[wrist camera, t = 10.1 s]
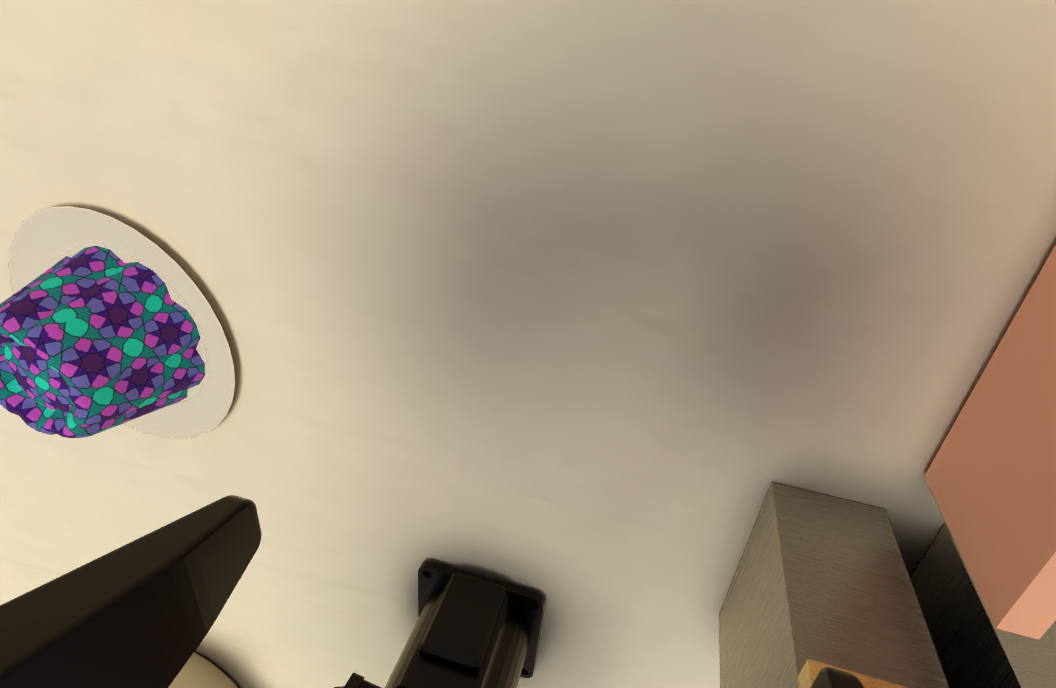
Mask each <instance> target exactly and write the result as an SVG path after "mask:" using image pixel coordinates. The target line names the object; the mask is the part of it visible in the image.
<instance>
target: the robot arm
mask: <svg viewBox="0 0 1056 688" xmlns="http://www.w3.org/2000/svg"><path fill="white" fill-rule="evenodd" d="M260 541H261V529H260V524H259V519H258V514H257V509H256V505H255V503H254V502H253V501H252V500H249V499H246V498H242V497H239V496H234V495H230V496H226V497H224V498H222V499H220V500H217V501H215V502H213V503H211V504H209V505H207V506H205V507H203V508H201V509H199V510H197V511H195V512H193V513H191V514H189V515H186V516H184V517H182V518H180V519H178V520H176V521H174V522H172V523H170V524H168V525H166V526H164V527H162V528H160V529H157V530H155V531H153V532H151V533H149V534H147V535H145V536H143V537H141V538H139V539H137V540H135V541H133V542H131V543H129V544H126V545H124V546H122V547H120V548H118V549H116V550H114V551H112V552H110V553H108V554H106V555H104V556H102V557H100V558H98V559H95V560H93V561H91V562H89V563H87V564H85V565H83V566H81V567H79V568H77V569H75V570H73V571H71V572H69V573H66V574H64V575H62V576H60V577H58V578H56V579H54V580H52V581H50V582H48V583H46V584H44V585H42V586H40V587H38V588H35V589H33V590H31V591H29V592H27V593H25V594H23V595H21V596H19V597H17V598H15V599H13V600H11V601H9V602H7V603H4V604H2V605H0V688H168V687H169V686H170V685H171V683H172V682H173V680H174V679H175V678H176V676H177V675H178V674H179V672H180V671H181V669H182V668H183V667H184V665H185V664H186V663H187V661H188V660H189V658H190V657H191V656H192V654H193V653H194V651H195V650H196V649H197V647H198V646H199V644H200V643H201V642H202V640H203V639H204V637H205V636H206V634H207V633H208V631H209V630H210V628H211V627H212V625H213V623H214V622H215V620H216V619H217V617H218V615H219V613H220V612H221V610H222V608H223V607H224V605H225V603H226V602H227V600H228V598H229V597H230V595H231V593H232V591H233V590H234V588H235V586H236V585H237V583H238V581H239V580H240V578H241V576H242V575H243V573H244V571H245V569H246V568H247V566H248V564H249V563H250V561H251V559H252V558H253V556H254V554H255V553H256V551H257V549H258V547H259V544H260ZM418 599H419V619H418V621H417V623H416V625H415V627H414V629H413V631H412V633H411V635H410V637H409V639H408V641H407V643H406V645H405V648H404V650H403V652H402V654H401V656H400V658H399V660H398V662H397V664H396V666H395V668H394V670H393V672H392V674H391V676H390V678H389V681H388V683H387V685H386V687H385V688H517V685H518V682H519V678H520V676H521V677H524V678H530V677H532V675H533V672H534V669H535V663H536V657H537V651H538V644H539V638H540V632H541V625H542V619H543V613H544V606H545V598H544V597H543V596H542V595H541V594H539V593H537V592H534V591H530V590H527V589H524V588H520V587H517V586H513V585H510V584H507V583H503V582H500V581H496V580H493V579H489V578H486V577H483V576H479V575H476V574H472V573H469V572H465V571H462V570H459V569H455V568H452V567H448V566H445V565H441V564H438V563H435V562H431V561H424V562H423V563H422V564H421V566H420V568H419V571H418ZM364 678H365V677H363V676H360V675H358V674H356V673H353V674H352V675H351V677H350V679H349V680H348V682H347V683H346V685H345V686H344V687H334V688H381V687H379V686H376V685H374V684H372V683H370V682H368V681H366V680H364ZM810 688H864V686H863V685H862V683H861V682H860V680H859V679H858V678H857V677H856V676H854V675H853V674H851V673H848V672H844V671H841V670H838V669H834V668H831V667H824V668H822V669H821V670H820V671H819V673H818V675H817V677H816V678H815V680H814V682H813V683H812V685H811V687H810Z"/></svg>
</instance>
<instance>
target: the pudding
mask: <svg viewBox="0 0 1056 688" xmlns="http://www.w3.org/2000/svg"><path fill="white" fill-rule="evenodd" d="M89 244H97V245H102V246H108V247H111V248H114V249H117V250H120V251H122V252H125V253H127V254H129V255H130V256H132V257H134V258H136V259H138V260H140V261H141V262H142V263H144V264H145V265H147V266H148V267H150V268H151V269H152V270H154V271H155V272H156V273H157V274H158V275H159V276H160V277H162V278H163V279H164V280H165V281H166V282H167V283H168V284H169V285H170V286H171V287H172V289H173V290H174V291H175V292H176V293H177V294H178V295H179V297H180V298H181V299H182V301H183V302H184V303H185V305H186V306H187V308H188V309H189V311H190V312H191V314H192V316H193V318H194V320H195V321H196V323H197V325H198V328H199V330H200V333H201V335H202V337H203V341H204V345H205V349H206V354H207V372H206V378H205V380H204V383H203V386H202V387H201V388H200V390H199V391H198V393H197V394H196V395H194V396H193V397H192V398H190V399H189V400H186V401H184V402H181V403H177V402H179V401H181V400H182V399H184V398H186V397H187V389H188V388H190V387H193V386H195V385H198V384H200V382H201V381H202V379H203V378H204V376H205V363H204V362H203V360H202V358H201V357H200V355H199V354H198V352H197V350H196V347H197V344H198V342H199V340H200V336H199V332H198V329H197V326H196V323H195V322H194V320H193V319H192V317H191V316H190V314H189V313H188V311H187V310H186V309H184V308H183V307H181V306H180V305H178V304H177V303H175V302H174V301H172V300H171V298H170V295H169V293H168V290H167V287H166V285H165V283H164V282H163V281H162V280H161V279H160V278H159V277H158V276H157V275H156V274H155V273H154V272H153V271H152V270H151V269H149V268H147V267H145V266H144V265H142V264H140V263H138V262H136V263H124V262H123V261H122V260H120V259H119V258H118V257H117V256H116V255H115V254H114V253H113V252H112V251H111V250H109V249H105V248H102V247H99V246H93V247H88V248H84V249H83V250H81V251H80V252H79V253H77V254H76V255H75V256H73V257H72V258H71V257H67V256H66V257H65V258H63V259H62V260H61V261H59V262H58V263H56V262H57V261H58V259H59V258H60V257H61V256H62V255H63V253H65V252H66V251H68V250H70V249H71V248H73V247H77V246H80V245H89ZM8 269H9V278H10V285H11V289H12V292H13V295H12V296H11V297H10V298H8V299H7V300H5V301H4V302H3V303H1V304H0V404H1V405H2V406H3V407H4V408H5V409H7V410H8V411H9V412H11V413H14V414H16V415H19V416H20V417H21V418H22V419H23V421H24V422H25V423H26V424H27V425H28V426H30V427H32V428H33V429H35V430H36V431H39V432H42V433H46V434H50V435H52V434H58V435H60V436H62V437H67V438H81V437H88V436H92V435H94V434H97V433H99V432H102V431H105V430H107V429H110V428H112V427H115V426H117V425H120V424H125V425H127V426H129V427H131V428H134V429H136V430H139V431H141V432H144V433H147V434H151V435H155V436H159V437H163V438H174V439H184V438H193V437H197V436H199V435H202V434H205V433H208V432H209V431H211V430H212V429H213V428H215V427H216V426H218V425H219V424H220V422H221V421H222V420H223V419H224V418H225V416H226V415H227V413H228V411H229V408H230V406H231V404H232V401H233V395H234V389H235V375H234V364H233V360H232V356H231V351H230V347H229V344H228V342H227V339H226V337H225V334H224V331H223V329H222V326H221V324H220V323H219V321H218V319H217V317H216V315H215V313H214V312H213V310H212V308H211V306H210V304H209V303H208V301H207V300H206V298H205V297H204V296H203V294H202V293H201V291H200V290H199V289H198V287H197V286H196V284H195V283H194V282H193V281H192V280H191V278H190V277H189V276H188V275H187V274H186V273H185V272H184V271H183V269H182V268H181V267H180V266H179V265H178V264H177V263H176V262H175V261H174V260H173V259H172V258H171V257H170V256H169V255H167V254H166V253H165V252H164V251H163V250H162V249H161V248H160V247H158V246H157V245H156V244H155V243H154V242H152V241H151V240H149V239H148V238H146V237H145V236H144V235H142V234H141V233H139V232H138V231H136V230H135V229H133V228H132V227H130V226H128V225H126V224H124V223H122V222H120V221H118V220H116V219H114V218H113V217H110V216H107V215H104V214H102V213H99V212H96V211H93V210H90V209H84V208H78V207H72V206H62V207H50V208H47V209H44V210H41V211H38V212H35V213H34V214H33V215H31V216H30V217H29V218H27V219H26V220H24V221H23V223H22V224H21V225H20V227H19V228H18V230H17V231H16V232H15V234H14V237H13V240H12V243H11V246H10V250H9V261H8ZM174 403H176V404H174Z"/></svg>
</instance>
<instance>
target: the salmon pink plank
mask: <svg viewBox="0 0 1056 688" xmlns="http://www.w3.org/2000/svg"><path fill="white" fill-rule="evenodd" d="M924 477H925V479H926V481H927V484H928V486H929V488H930V490H931V492H932V494H933V496H934V498H935V501H936V503H937V505H938V507H939V509H940V511H941V513H942V515H943V518H944V520H945V522H946V524H947V526H948V528H949V530H950V532H951V535H952V537H953V539H954V541H955V543H956V545H957V547H958V549H959V552H960V554H961V556H962V558H963V560H964V562H965V564H966V566H967V569H968V571H969V573H970V575H971V577H972V579H973V581H974V583H975V586H976V588H977V590H978V592H979V594H980V596H981V598H982V600H983V603H984V605H985V607H986V609H987V611H988V613H989V615H990V617H991V620H992V622H993V624H994V626H995V628H997V629H1000V630H1004V631H1008V632H1012V633H1015V634H1019V635H1023V636H1027V637H1031V638H1034V639H1038V640H1039V639H1040V638H1041V637H1042V635H1043V634H1044V633H1045V632H1046V631H1047V630H1048V628H1049V627H1050V626H1051V625H1052V624H1053V623H1054V622H1055V620H1056V245H1055V247H1054V248H1053V250H1052V252H1051V254H1050V255H1049V257H1048V259H1047V261H1046V262H1045V264H1044V266H1043V268H1042V269H1041V271H1040V273H1039V275H1038V276H1037V278H1036V280H1035V282H1034V284H1033V285H1032V287H1031V289H1030V291H1029V292H1028V294H1027V296H1026V298H1025V299H1024V301H1023V303H1022V305H1021V306H1020V308H1019V310H1018V312H1017V313H1016V315H1015V317H1014V319H1013V321H1012V322H1011V324H1010V326H1009V328H1008V329H1007V331H1006V333H1005V335H1004V336H1003V338H1002V340H1001V342H1000V343H999V345H998V347H997V349H996V350H995V352H994V354H993V356H992V358H991V359H990V361H989V363H988V365H987V366H986V368H985V370H984V372H983V373H982V375H981V377H980V379H979V380H978V382H977V384H976V386H975V387H974V389H973V391H972V393H971V395H970V396H969V398H968V400H967V402H966V403H965V405H964V407H963V409H962V410H961V412H960V414H959V416H958V417H957V419H956V421H955V423H954V424H953V426H952V428H951V430H950V432H949V433H948V435H947V437H946V439H945V440H944V442H943V444H942V446H941V447H940V449H939V451H938V453H937V454H936V456H935V458H934V460H933V461H932V463H931V465H930V467H929V469H928V470H927V472H926V474H925V476H924Z"/></svg>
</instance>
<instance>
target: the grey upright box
mask: <svg viewBox="0 0 1056 688" xmlns="http://www.w3.org/2000/svg"><path fill="white" fill-rule="evenodd" d="M719 647H720V688H810V687H811V685H812V683H813V682H814V680H815V678H816V677H817V675H818V673H819V671H820V670H821V669H822V668H824V667H831V668H834V669H838V670H841V671H844V672H848V673H851V674H853V675H854V676H856V677H857V678H858V679H859V680H860V682H861V683H862V685H863V686H864V688H1056V620H1055V622H1054V623H1053V624H1052V625H1051V626H1050V627H1049V628H1048V630H1047V631H1046V632H1045V633H1044V634H1043V635H1042V637H1041V638H1040V639H1039V640H1038V639H1034V638H1031V637H1027V636H1023V635H1019V634H1015V633H1012V632H1008V631H1004V630H1000V629H997V628H995V626H994V624H993V622H992V620H991V617H990V615H989V613H988V611H987V609H986V607H985V605H984V603H983V600H982V598H981V596H980V594H979V592H978V590H977V588H976V586H975V583H974V581H973V579H972V577H971V575H970V573H969V571H968V569H967V566H966V564H965V562H964V560H963V558H962V556H961V554H960V552H959V549H958V547H957V545H956V543H955V541H954V539H953V537H952V535H951V532H950V530H949V528H948V526H947V524H945V523H944V525H943V527H942V528H941V530H940V532H939V533H938V535H937V536H936V538H935V540H934V541H933V543H932V544H931V546H930V548H929V549H928V551H927V552H926V554H925V556H924V557H923V559H922V560H921V562H920V564H919V565H918V567H917V568H916V570H915V572H914V573H913V575H912V576H911V578H910V577H909V575H908V572H907V569H906V566H905V564H904V561H903V558H902V555H901V552H900V550H899V547H898V544H897V541H896V538H895V536H894V533H893V530H892V527H891V525H890V522H889V519H888V516H887V513H886V511H885V509H882V508H878V507H874V506H870V505H865V504H861V503H857V502H853V501H849V500H844V499H840V498H836V497H832V496H828V495H823V494H819V493H815V492H811V491H807V490H802V489H798V488H794V487H790V486H786V485H781V484H777V483H773V482H772V483H771V485H770V488H769V490H768V493H767V495H766V498H765V500H764V503H763V505H762V508H761V510H760V513H759V515H758V518H757V521H756V523H755V526H754V528H753V531H752V533H751V536H750V538H749V541H748V543H747V546H746V548H745V551H744V553H743V556H742V558H741V561H740V563H739V566H738V568H737V571H736V573H735V576H734V579H733V581H732V584H731V586H730V589H729V591H728V594H727V596H726V599H725V601H724V604H723V606H722V609H721V611H720V614H719Z"/></svg>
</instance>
